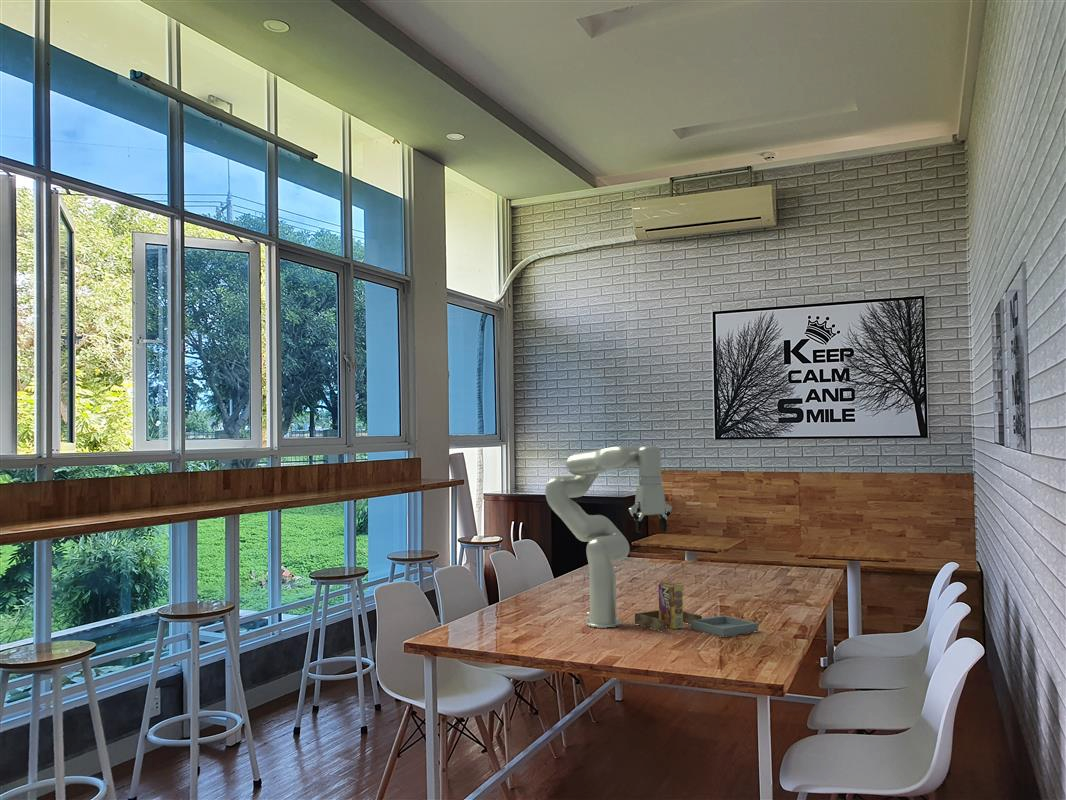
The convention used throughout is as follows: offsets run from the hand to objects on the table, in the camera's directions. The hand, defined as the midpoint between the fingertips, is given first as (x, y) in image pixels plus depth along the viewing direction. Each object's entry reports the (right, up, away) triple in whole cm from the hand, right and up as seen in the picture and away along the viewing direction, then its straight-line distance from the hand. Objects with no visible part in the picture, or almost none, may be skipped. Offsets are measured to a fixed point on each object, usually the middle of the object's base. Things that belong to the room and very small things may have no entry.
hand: (651, 531), depth 280 cm
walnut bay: (+7, -35, +10) cm, 37 cm away
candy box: (+8, -35, +9) cm, 37 cm away
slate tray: (+25, -34, +1) cm, 43 cm away
